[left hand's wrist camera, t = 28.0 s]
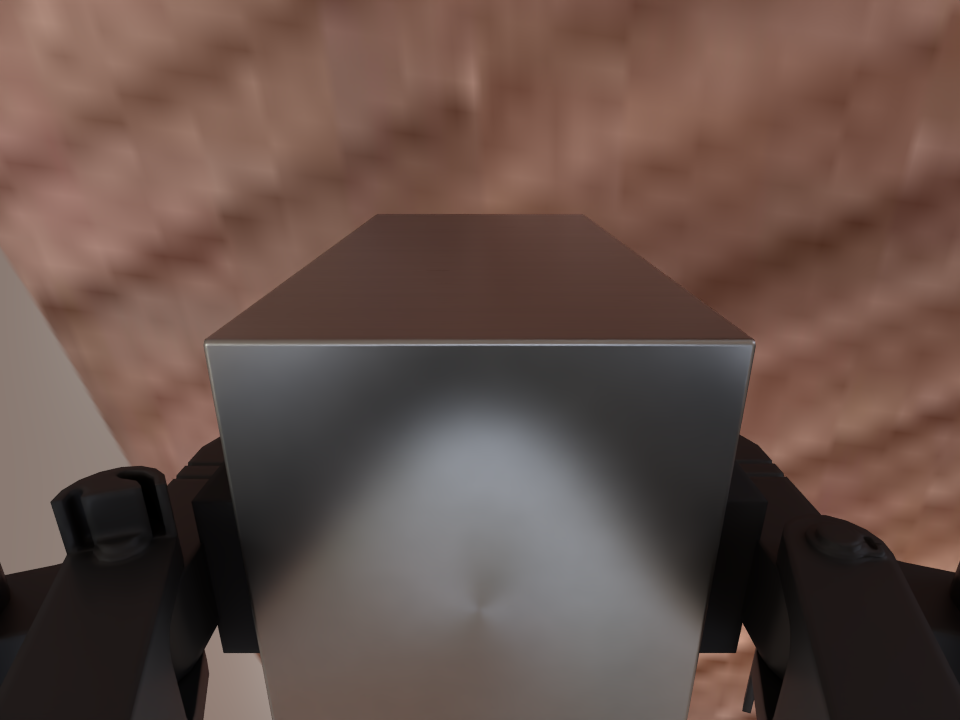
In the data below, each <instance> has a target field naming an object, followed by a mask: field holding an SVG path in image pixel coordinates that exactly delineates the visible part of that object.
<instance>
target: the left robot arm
mask: <svg viewBox="0 0 960 720" xmlns="http://www.w3.org/2000/svg"><path fill="white" fill-rule="evenodd" d="M51 505H52V509H53V512H54V515H55V518H56V521H57V524H58V527H59V531H60V534H61V537H62V540H63V543H64V546H65V549H66V552H67V556H66V558H65V560H64V562H63V563H62V564H58V565H53V566H48V567H43V568H38V569H33V570H28V571H24V572H18V573H14V574H9V575H5V574H4V572H3V569H2V566H1V564H0V720H203V718H204V710H205V702H206V694H207V686H208V678H209V670H208V663H207V658H206V654H205V650H204V649H205V647H206V645H207V643H208V642H209V640H210V638H211V636H212V634H213V632H214V630H215V629H216V627H217V625H218V629H219V634H220V638H221V643H222V647H223V652H224V653H260V650H259V645H258V639H257V634H256V628H255V623H254V617H253V612H252V607H251V601H250V596H249V590H248V585H247V579H246V574H245V568H244V563H243V558H242V552H241V547H240V541H239V536H238V530H237V525H236V519H235V514H234V509H233V503H232V498H231V492H230V487H229V481H228V476H227V470H226V465H225V460H224V454H223V449H222V443H221V438H220V437H219V438H217V439H215V440H213V441H212V442H210V443H208V444H207V445H205V446H203V447H202V448H201V449H200V450H199V451H198V452H197V453H196V455H195V456H194V457H193V458H192V459H191V460H190V461H189V462H188V466H185V467H184V468H183V469H182V470H181V471H180V472H179V473H178V474H177V477H176V479H173V480H172V481H171V482H170V483H169V484H168V486H167V484H166V479H165V475H164V474H163V473H161V472H160V471H158V470H157V469H156V468H150V467H144V466H132V467H120V468H115V469H111V470H107V471H102V472H99V473H96V474H94V475H91V476H88V477H86V478H83V479H81V480H78V481H77V482H75V483H73V484H72V485H70V486H68V487H67V488H65V489H63V490H62V491H61V492H60V493H59V494H58V495H57V496H56V497H55V498H54V499H53V500H52V501H51ZM742 623H743V624H744V626H745V628H746V630H747V632H748V634H749V635H750V637H751V639H752V641H753V643H754V645H755V647H756V650H755V654H754V658H753V663H752V667H751V671H750V676H749V680H748V684H747V689H746V693H745V698H744V704H743V710H742V711H744V712H747V713H751V709H752V705H753V701H754V700H755V708H756V716H757V720H960V562H959V565H958V567H957V570H956V573H955V572H950V571H945V570H940V569H935V568H930V567H925V566H920V565H915V564H910V563H905V562H901V561H897V560H896V559H895V557H894V555H893V553H892V552H891V551H890V549H889V548H888V547H887V546H886V544H885V543H884V542H883V541H882V540H880V539H879V538H878V537H876V536H875V535H873V534H872V533H870V532H869V531H868V530H866V529H864V528H862V527H859V526H857V525H855V524H853V523H850V522H848V521H846V520H842V519H838V518H834V517H830V516H827V515H821V514H820V513H819V512H818V511H817V510H816V509H815V508H814V506H813V505H812V504H811V503H810V502H809V501H808V500H807V499H806V498H805V497H804V495H803V494H802V493H801V492H800V491H799V490H798V489H797V488H796V487H795V486H794V484H793V483H792V482H791V481H790V480H789V479H788V478H787V477H784V473H783V472H782V471H781V470H780V469H779V468H778V467H777V466H776V465H775V464H772V460H771V459H770V458H769V457H768V456H767V455H766V454H765V452H764V451H763V450H762V449H761V448H760V447H759V446H758V445H757V444H755V443H753V442H752V441H750V440H748V439H746V438H745V437H743V436H741V435H740V434H739V439H738V445H737V450H736V455H735V461H734V466H733V472H732V477H731V483H730V488H729V494H728V499H727V504H726V510H725V515H724V521H723V526H722V532H721V537H720V542H719V548H718V553H717V559H716V564H715V570H714V575H713V581H712V586H711V591H710V597H709V602H708V608H707V613H706V619H705V624H704V629H703V635H702V640H701V646H700V651H699V653H736V650H737V646H738V641H739V636H740V632H741V627H742Z"/></svg>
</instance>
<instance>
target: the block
mask: <svg viewBox="0 0 960 720" xmlns="http://www.w3.org/2000/svg"><path fill="white" fill-rule="evenodd" d="M755 347H756V344H755V340H754V339H752V338H751V337H750V336H748V335H747V334H746V333H744V332H743V331H741V330H740V329H739V328H737V327H736V326H735V325H733V324H732V323H731V322H729V321H728V320H726V319H725V318H724V317H722V316H721V315H720V314H718V313H717V312H716V311H714V310H713V309H712V308H710V307H709V306H707V305H706V304H705V303H703V302H702V301H701V300H699V299H698V298H697V297H695V296H694V295H692V294H691V293H690V292H688V291H687V290H686V289H684V288H683V287H682V286H680V285H679V284H677V283H676V282H675V281H673V280H672V279H671V278H669V277H668V276H667V275H665V274H664V273H662V272H661V271H660V270H658V269H657V268H656V267H654V266H653V265H652V264H650V263H649V262H648V261H646V260H645V259H643V258H642V257H641V256H639V255H638V254H637V253H635V252H634V251H633V250H631V249H630V248H628V247H627V246H626V245H624V244H623V243H622V242H620V241H619V240H618V239H616V238H615V237H613V236H612V235H611V234H609V233H608V232H607V231H605V230H604V229H603V228H601V227H600V226H599V225H597V224H596V223H594V222H593V221H592V220H590V219H589V218H588V217H586V216H585V215H583V214H377V215H375V216H374V217H373V218H371V219H370V220H368V221H367V222H366V223H364V224H363V225H362V226H360V227H359V228H357V229H356V230H355V231H353V232H352V233H351V234H349V235H348V236H346V237H345V238H344V239H342V240H341V241H340V242H338V243H337V244H335V245H334V246H333V247H331V248H330V249H329V250H327V251H326V252H324V253H323V254H322V255H320V256H319V257H318V258H316V259H315V260H313V261H312V262H311V263H309V264H308V265H307V266H305V267H304V268H303V269H301V270H300V271H298V272H297V273H296V274H294V275H293V276H292V277H290V278H289V279H287V280H286V281H285V282H283V283H282V284H281V285H279V286H278V287H276V288H275V289H274V290H272V291H271V292H270V293H268V294H267V295H265V296H264V297H263V298H261V299H260V300H259V301H257V302H256V303H254V304H253V305H252V306H250V307H249V308H248V309H246V310H245V311H243V312H242V313H241V314H239V315H238V316H237V317H235V318H234V319H233V320H231V321H230V322H228V323H227V324H226V325H224V326H223V327H222V328H220V329H219V330H217V331H216V332H215V333H213V334H212V335H211V336H209V337H208V338H206V339H205V341H204V351H205V356H206V362H207V367H208V372H209V378H210V383H211V389H212V394H213V400H214V405H215V411H216V416H217V421H218V427H219V432H220V438H221V443H222V449H223V454H224V460H225V465H226V470H227V476H228V481H229V487H230V492H231V498H232V503H233V509H234V514H235V519H236V525H237V530H238V536H239V541H240V547H241V552H242V558H243V563H244V568H245V574H246V579H247V585H248V590H249V596H250V601H251V607H252V612H253V617H254V623H255V628H256V634H257V639H258V645H259V650H260V656H261V661H262V667H263V672H264V677H265V683H266V688H267V694H268V699H269V705H270V710H271V716H272V720H687V716H688V711H689V706H690V700H691V695H692V689H693V684H694V678H695V673H696V668H697V662H698V657H699V651H700V646H701V640H702V635H703V629H704V624H705V619H706V613H707V608H708V602H709V597H710V591H711V586H712V581H713V575H714V570H715V564H716V559H717V553H718V548H719V542H720V537H721V532H722V526H723V521H724V515H725V510H726V504H727V499H728V494H729V488H730V483H731V477H732V472H733V466H734V461H735V455H736V450H737V445H738V439H739V434H740V428H741V423H742V417H743V412H744V406H745V401H746V396H747V390H748V385H749V379H750V374H751V368H752V363H753V358H754V352H755Z"/></svg>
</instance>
